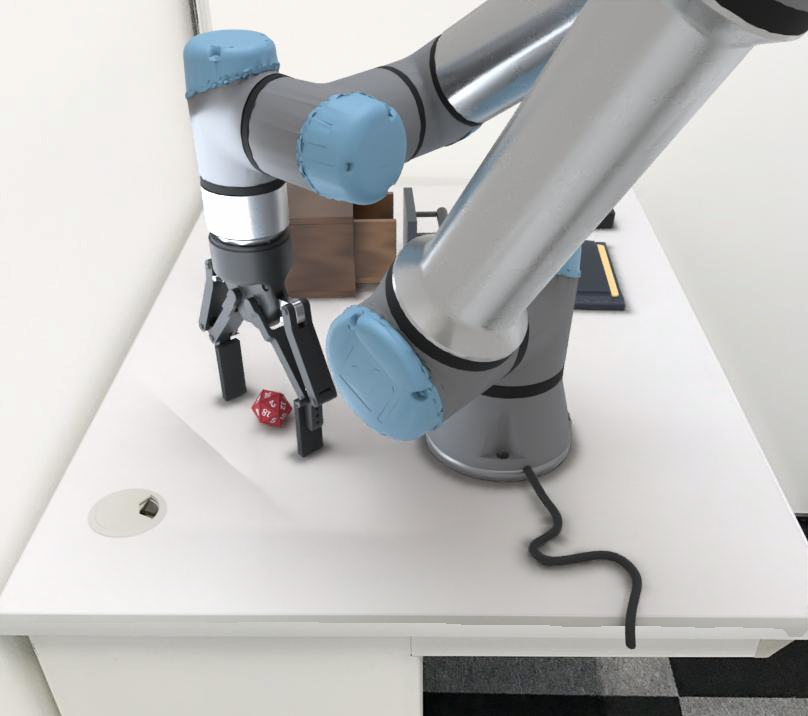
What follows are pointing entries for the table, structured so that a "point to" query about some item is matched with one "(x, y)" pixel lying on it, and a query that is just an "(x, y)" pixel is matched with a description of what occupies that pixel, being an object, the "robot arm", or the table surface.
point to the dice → (271, 408)
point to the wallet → (597, 279)
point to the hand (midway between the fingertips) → (271, 421)
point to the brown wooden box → (320, 245)
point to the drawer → (384, 234)
